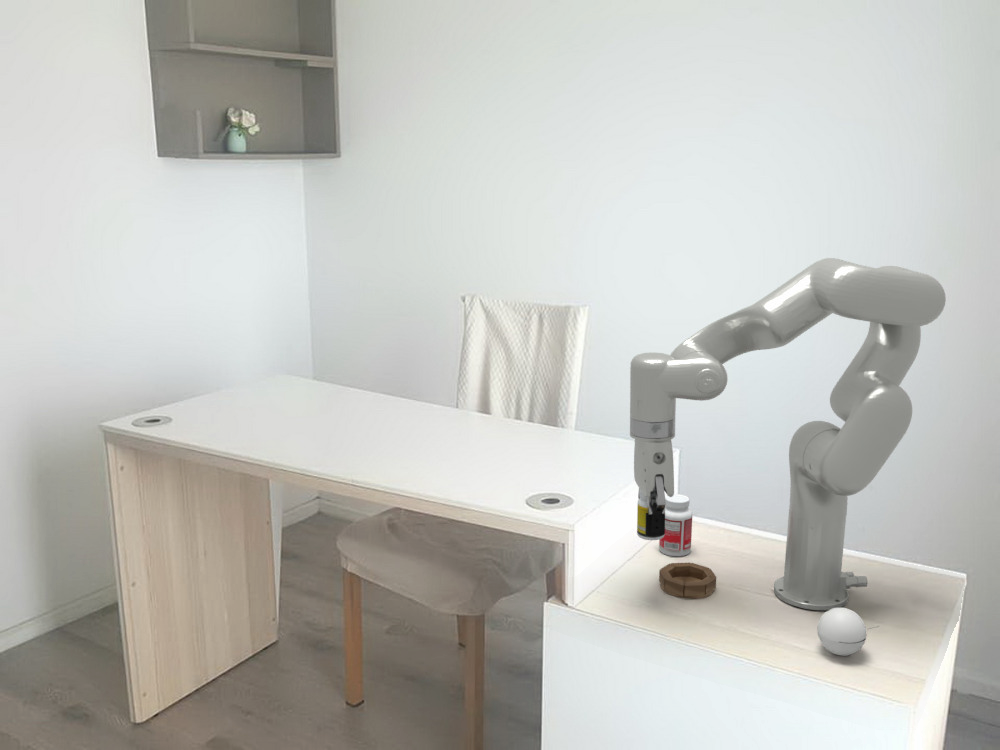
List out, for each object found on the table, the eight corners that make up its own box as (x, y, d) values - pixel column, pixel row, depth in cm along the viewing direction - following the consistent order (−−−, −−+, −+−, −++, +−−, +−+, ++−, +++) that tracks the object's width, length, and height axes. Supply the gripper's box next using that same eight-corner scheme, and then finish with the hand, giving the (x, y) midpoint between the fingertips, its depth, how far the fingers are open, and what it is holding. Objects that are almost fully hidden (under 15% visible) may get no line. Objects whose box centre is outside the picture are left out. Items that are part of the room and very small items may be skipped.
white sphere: (824, 664, 151) (828, 621, 149) (809, 641, 158) (812, 599, 157) (889, 664, 151) (893, 621, 150) (871, 641, 158) (875, 599, 157)
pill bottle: (683, 543, 197) (685, 491, 194) (695, 555, 191) (698, 502, 188) (654, 546, 195) (656, 493, 193) (665, 558, 189) (668, 504, 187)
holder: (705, 574, 182) (705, 561, 182) (720, 598, 173) (721, 584, 173) (654, 576, 182) (655, 563, 181) (667, 600, 172) (668, 586, 172)
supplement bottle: (664, 541, 166) (665, 495, 164) (636, 540, 167) (636, 493, 165) (665, 530, 171) (666, 485, 169) (637, 529, 172) (638, 484, 170)
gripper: (688, 441, 156) (686, 547, 161) (661, 412, 173) (660, 509, 177) (642, 443, 156) (640, 550, 160) (619, 414, 172) (619, 511, 177)
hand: (651, 527), depth 169 cm, fingers closed on supplement bottle, 4 cm apart
